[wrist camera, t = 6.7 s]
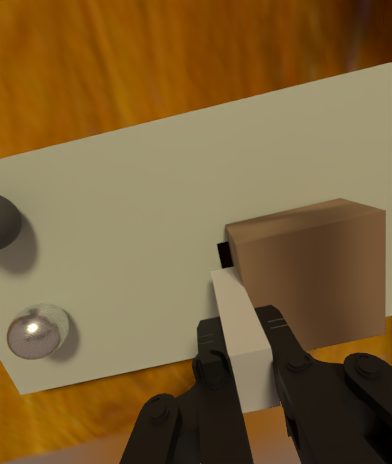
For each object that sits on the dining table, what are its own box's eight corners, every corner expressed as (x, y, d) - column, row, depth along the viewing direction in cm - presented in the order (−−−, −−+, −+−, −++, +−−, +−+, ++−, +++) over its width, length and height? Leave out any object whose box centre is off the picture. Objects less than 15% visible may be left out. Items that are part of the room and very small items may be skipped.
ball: (40, 338, 17) (8, 378, 14) (19, 298, 16) (-19, 332, 13) (84, 328, 17) (62, 366, 14) (66, 288, 16) (38, 319, 13)
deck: (39, 367, 21) (21, 394, 19) (-61, 180, 16) (-104, 184, 14) (369, 295, 20) (394, 314, 18) (365, 75, 15) (398, 60, 13)
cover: (244, 320, 17) (258, 360, 14) (224, 224, 15) (235, 244, 12) (345, 298, 17) (385, 334, 13) (340, 198, 15) (385, 210, 11)
